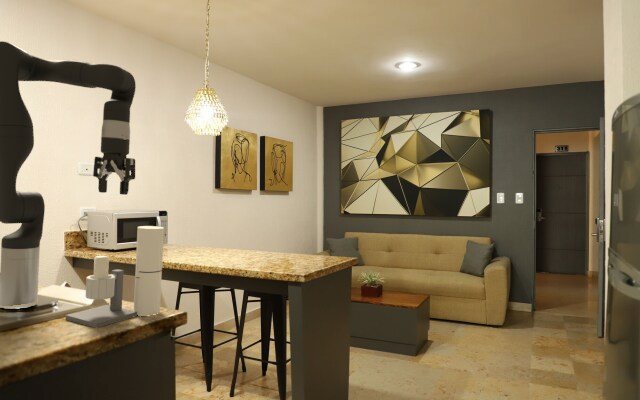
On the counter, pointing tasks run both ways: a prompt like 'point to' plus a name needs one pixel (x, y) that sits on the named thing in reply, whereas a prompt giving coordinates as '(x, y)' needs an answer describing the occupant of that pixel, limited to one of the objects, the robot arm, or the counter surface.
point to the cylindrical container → (148, 270)
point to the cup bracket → (105, 313)
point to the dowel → (101, 267)
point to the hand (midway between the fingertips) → (113, 193)
